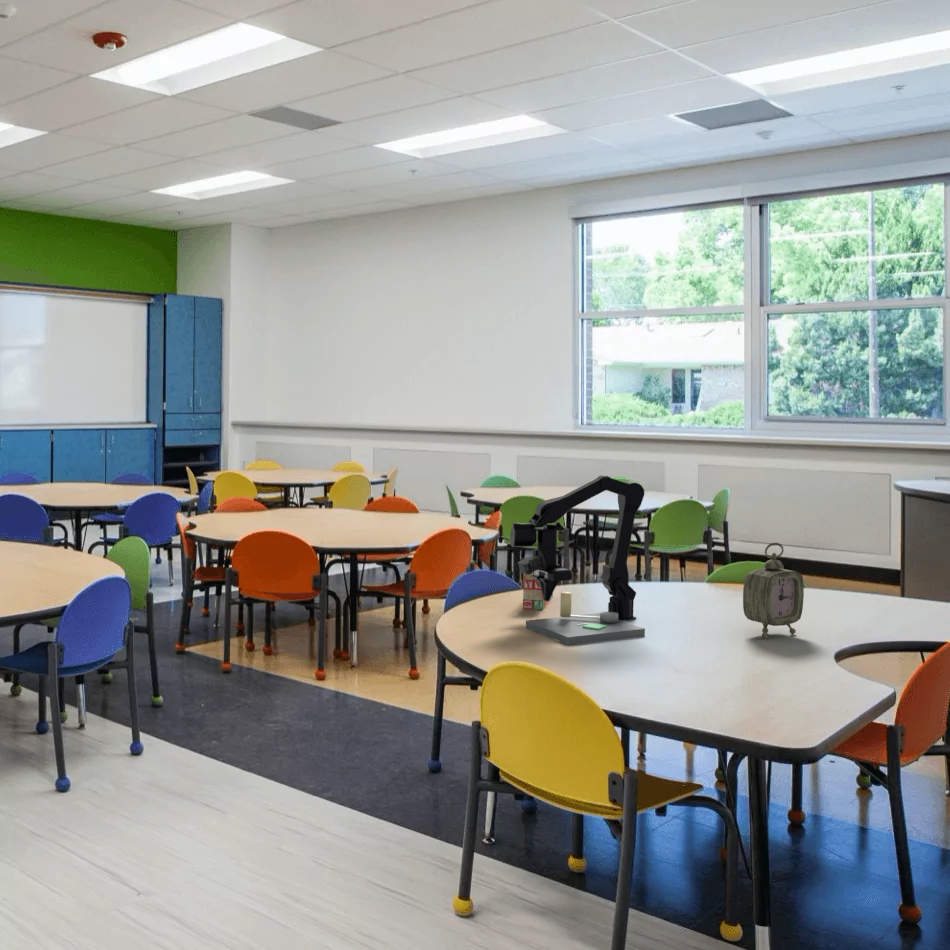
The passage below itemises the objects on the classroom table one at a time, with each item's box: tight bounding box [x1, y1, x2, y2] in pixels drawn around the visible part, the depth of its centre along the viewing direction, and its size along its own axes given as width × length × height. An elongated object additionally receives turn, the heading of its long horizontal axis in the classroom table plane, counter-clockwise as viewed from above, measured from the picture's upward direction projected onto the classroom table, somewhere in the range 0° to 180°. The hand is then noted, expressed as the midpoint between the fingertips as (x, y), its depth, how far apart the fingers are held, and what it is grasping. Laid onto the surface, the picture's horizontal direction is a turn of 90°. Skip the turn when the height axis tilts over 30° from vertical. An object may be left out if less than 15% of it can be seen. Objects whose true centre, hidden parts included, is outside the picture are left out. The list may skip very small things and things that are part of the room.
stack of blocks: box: [522, 571, 554, 610], centre depth 317 cm, size 21×6×12 cm, turn 168°
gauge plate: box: [525, 612, 646, 646], centre depth 277 cm, size 24×22×2 cm
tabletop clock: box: [742, 542, 805, 640], centre depth 274 cm, size 14×9×25 cm, turn 122°
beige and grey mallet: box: [559, 591, 618, 623], centre depth 281 cm, size 16×5×7 cm, turn 77°
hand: (546, 600), depth 290 cm, fingers closed
